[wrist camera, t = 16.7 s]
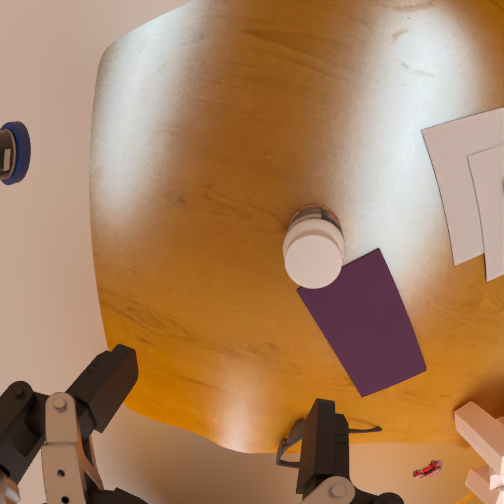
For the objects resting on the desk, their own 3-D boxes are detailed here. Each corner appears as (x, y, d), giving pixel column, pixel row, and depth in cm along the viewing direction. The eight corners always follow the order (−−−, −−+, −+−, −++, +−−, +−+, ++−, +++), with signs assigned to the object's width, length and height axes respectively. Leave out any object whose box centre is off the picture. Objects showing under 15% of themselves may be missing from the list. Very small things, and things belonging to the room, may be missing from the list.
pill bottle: (347, 241, 32) (359, 280, 23) (301, 259, 34) (295, 304, 25) (327, 194, 30) (333, 217, 21) (280, 215, 32) (266, 246, 23)
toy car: (411, 472, 47) (412, 482, 44) (437, 457, 43) (439, 467, 41) (418, 473, 47) (419, 483, 44) (443, 459, 44) (445, 469, 41)
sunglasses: (301, 406, 42) (302, 430, 38) (384, 417, 43) (389, 438, 38) (268, 447, 49) (267, 468, 44) (341, 456, 49) (342, 475, 45)
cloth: (296, 289, 35) (296, 290, 35) (378, 247, 31) (379, 248, 31) (361, 395, 39) (362, 397, 39) (426, 368, 36) (426, 370, 35)
